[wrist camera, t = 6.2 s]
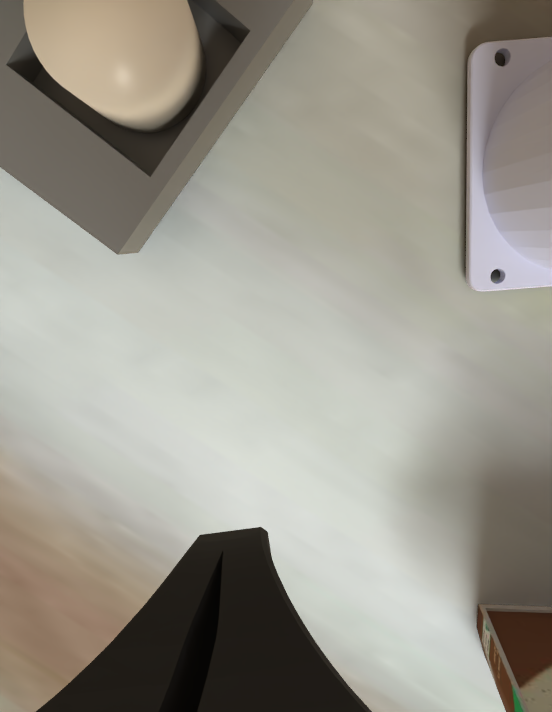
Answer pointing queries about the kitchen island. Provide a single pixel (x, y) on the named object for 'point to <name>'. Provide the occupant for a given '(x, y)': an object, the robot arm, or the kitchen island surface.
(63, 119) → the grey slotted tray
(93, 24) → the cream rounded block
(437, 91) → the kitchen island surface
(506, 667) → the food container
